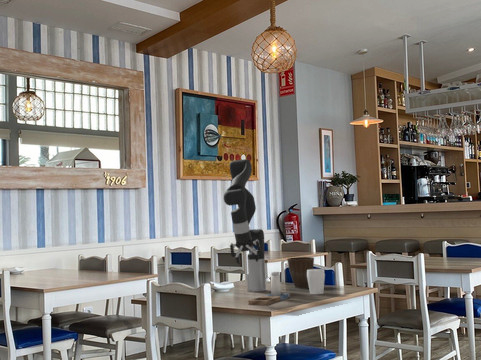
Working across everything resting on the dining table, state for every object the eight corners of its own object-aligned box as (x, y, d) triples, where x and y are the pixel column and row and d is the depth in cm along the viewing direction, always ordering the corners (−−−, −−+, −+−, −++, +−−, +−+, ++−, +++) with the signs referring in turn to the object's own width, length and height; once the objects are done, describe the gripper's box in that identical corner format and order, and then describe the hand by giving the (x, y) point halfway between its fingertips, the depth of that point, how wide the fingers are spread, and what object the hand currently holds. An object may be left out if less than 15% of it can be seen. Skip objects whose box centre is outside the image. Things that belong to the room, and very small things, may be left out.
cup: (322, 291, 305) (321, 268, 306) (328, 294, 296) (326, 269, 297) (305, 293, 304) (304, 269, 305) (310, 295, 295) (309, 271, 296)
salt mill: (270, 298, 284) (268, 272, 285) (274, 297, 288) (272, 271, 289) (278, 299, 282) (277, 272, 283) (282, 297, 286) (281, 271, 286)
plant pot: (318, 287, 323) (317, 258, 324) (291, 289, 321) (290, 259, 321) (311, 284, 337) (310, 256, 338) (286, 286, 335) (284, 258, 336)
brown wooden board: (248, 305, 269) (248, 300, 269) (273, 297, 292) (273, 292, 292) (266, 306, 265) (265, 301, 265) (290, 298, 288) (290, 293, 288)
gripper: (226, 235, 277) (232, 267, 281) (256, 230, 276) (262, 263, 279) (228, 230, 285) (234, 262, 288) (257, 225, 283) (263, 257, 286)
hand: (248, 262), depth 283 cm, fingers open, 8 cm apart
